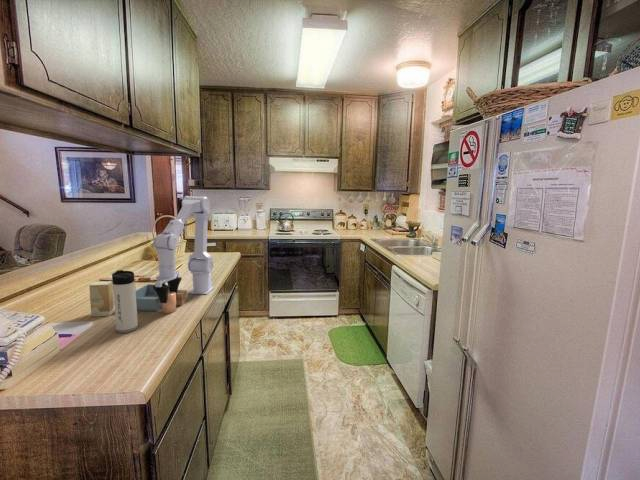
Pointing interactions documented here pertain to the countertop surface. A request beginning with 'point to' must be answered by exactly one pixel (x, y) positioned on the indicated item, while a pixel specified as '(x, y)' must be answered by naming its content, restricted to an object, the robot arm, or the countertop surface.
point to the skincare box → (101, 298)
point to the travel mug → (125, 301)
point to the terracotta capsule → (170, 303)
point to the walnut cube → (181, 297)
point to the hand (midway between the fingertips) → (168, 299)
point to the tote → (147, 299)
